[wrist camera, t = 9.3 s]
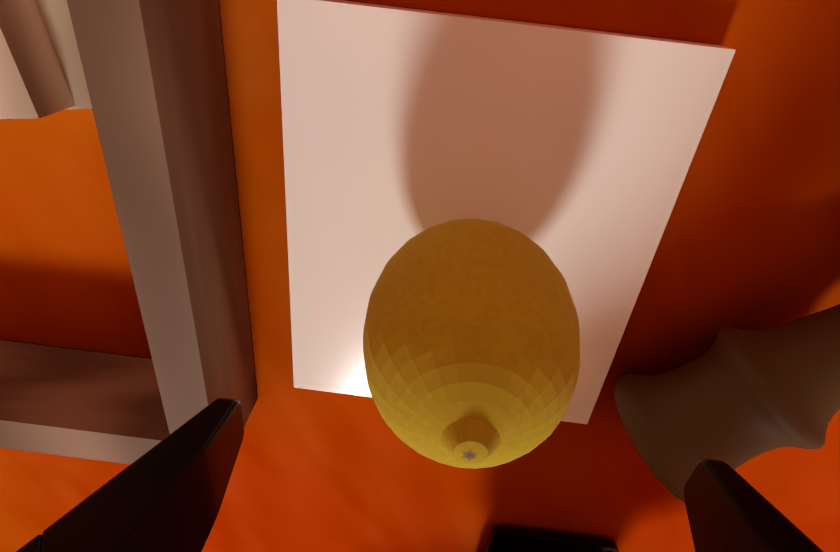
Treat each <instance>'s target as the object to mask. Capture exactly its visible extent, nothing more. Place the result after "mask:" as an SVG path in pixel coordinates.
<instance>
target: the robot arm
mask: <svg viewBox="0 0 840 552" xmlns="http://www.w3.org/2000/svg"><path fill="white" fill-rule="evenodd" d="M243 436H244V423H243V415H242V407H241V403H240V401H239V400H236V399H228V398H218V399H216V400H214V401H213V402H212V403H210V404H209V405H208V406H206V407H205V408H204V409H203V410H201V411H200V412H199V413H197V414H196V415H195V416H193V417H192V418H191V419H189V420H188V421H187V422H186V423H184V424H183V425H182V426H180V427H179V428H178V429H176V430H175V431H174V432H172V433H171V434H170V435H169V436H167V437H166V438H165V439H163V440H162V441H161V442H159V443H158V444H157V445H155V446H154V447H153V448H152V449H150V450H149V451H148V452H146V453H145V454H144V455H142V456H141V457H140V458H138V459H137V460H136V461H134V462H133V463H132V464H131V465H129V466H128V467H127V468H125V469H124V470H123V471H121V472H120V473H119V474H117V475H116V476H115V477H114V478H112V479H111V480H110V481H108V482H107V483H106V484H104V485H103V486H102V487H100V488H99V489H98V490H97V491H95V492H94V493H93V494H91V495H90V496H89V497H87V498H86V499H85V500H83V501H82V502H81V503H80V504H78V505H77V506H76V507H74V508H73V509H72V510H70V511H69V512H68V513H66V514H65V515H64V516H63V517H61V518H60V519H59V520H57V521H56V522H55V523H53V524H52V525H51V526H49V527H48V528H47V529H45V530H44V532H43V535H37V536H36V537H35V538H33V539H32V540H31V541H30V542H28V543H27V544H26V545H24V546H23V547H22V548H20V549H19V550H18V551H16V552H201V551H202V549H203V547H204V545H205V542H206V540H207V538H208V536H209V534H210V531H211V529H212V527H213V525H214V522H215V520H216V517H217V515H218V512H219V509H220V506H221V504H222V501H223V498H224V495H225V492H226V489H227V486H228V483H229V479H230V476H231V473H232V470H233V467H234V464H235V461H236V458H237V455H238V452H239V449H240V446H241V443H242V440H243ZM683 494H684V501H685V505H686V510H687V514H688V519H689V524H690V528H691V533H692V538H693V542H694V547H695V551H696V552H823V551H822V550H821V549H820V548H819V547H818V546H817V545H815V544H814V543H813V542H812V541H811V540H810V539H809V538H808V537H807V536H806V535H805V534H803V533H802V532H801V531H800V530H799V529H798V528H797V527H796V526H795V525H794V524H793V523H791V522H790V521H789V520H788V519H787V518H786V517H785V516H784V515H783V514H782V513H781V512H779V511H778V510H777V509H776V508H775V507H774V506H773V505H772V504H771V503H770V502H769V501H767V500H766V499H765V498H764V497H763V496H762V495H761V494H760V493H759V492H758V491H757V490H755V489H754V488H753V487H752V486H751V485H750V484H749V483H748V482H747V481H746V480H745V479H743V478H742V477H741V476H740V475H739V474H738V473H737V472H736V471H735V470H734V469H732V468H731V467H730V466H729V465H728V464H727V463H725V462H723V461H719V460H712V459H701V460H700V461H698V463H697V464H696V466H695V468H694V469H693V471H692V473H691V474H690V476H689V477H688V479H687V481H686V482H685V485H684V490H683ZM485 552H619V550H618V547H617V544H616V543H615V542H614V541H611V540H604V539H596V538H588V537H580V536H573V535H565V534H557V533H549V532H541V531H534V530H526V529H518V528H510V527H495V528H493V529H492V531H491V533H490V537H489V540H488V543H487V547H486V550H485Z"/></svg>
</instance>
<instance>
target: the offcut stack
mask: <svg viewBox="0 0 840 552" xmlns="http://www.w3.org/2000/svg"><path fill="white" fill-rule="evenodd" d="M64 109H92V105H91V101H90V96H89V92H88V88H87V84H86V80H85V75H84V71H83V67H82V63H81V59H80V54H79V50H78V46H77V42H76V37H75V33H74V29H73V25H72V21H71V16H70V12H69V8H68V4H67V0H0V119H30V118H41V117H44V116H47V115H50V114H53V113H56V112H59V111H61V110H64Z"/></svg>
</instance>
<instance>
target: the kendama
mask: <svg viewBox="0 0 840 552" xmlns="http://www.w3.org/2000/svg"><path fill="white" fill-rule="evenodd" d="M614 397H615V402H616V407H617V411H618V414H619V416H620V419H621V421H622V423H623V425H624V427H625V430H626V432H627V434H628V436H629V438H630V440H631V442H632V444H633V445H634V447H635V448H636V450H637V451H638V453H639V455H640V456H641V458H642V459H643V460H644V462H645V463H646V465H647V466H648V467H649V469H650V470H651V471H652V473H653V474H654V475H655V476H656V477H657V478H658V479H659V480H660V481H661V482H662V483H663V484H664V485H665V486H666V487H667V488H668V489H669V490H670V491H671V492H672V493H673V494H674V495H675V496H676V497H677V498H679V499H681V500H682V501H684V494H683V490H684V485H685V482H686V481H687V479H688V477H689V476H690V474H691V473H692V471H693V469H694V468H695V466H696V464H697V463H698V461H700V460H701V459H712V460H719V461H723V462H725V463H727V464H728V465H729V466H730V467H731V468H732V469H736V468H737V467H738V466H740V465H742V464H743V463H745V462H746V461H748V460H750V459H752V458H754V457H756V456H758V455H760V454H762V453H764V452H767V451H770V450H773V449H775V448H780V447H786V446H790V447H799V448H804V449H818V448H821V447H822V446H823V445H824V443H825V435H826V429H827V426H828V423H829V421H830V420H831V418H832V417H833V415H834V414H835V413H836V412H837V411H838V410H839V409H840V304H839V305H836V306H834V307H831V308H828V309H826V310H823V311H820V312H817V313H814V314H812V315H809V316H806V317H803V318H800V319H797V320H794V321H791V322H787V323H784V324H781V325H777V326H773V327H768V328H764V329H753V330H747V329H739V328H735V327H731V326H724V327H722V328H720V329H719V330H718V332H717V334H716V337H715V340H714V342H713V344H712V346H711V347H710V348H709V349H708V350H707V351H706V352H705V353H704V354H703V355H701V356H699V357H698V358H696V359H694V360H692V361H690V362H688V363H686V364H684V365H682V366H680V367H677V368H674V369H672V370H669V371H666V372H663V373H659V374H655V375H641V374H636V373H623V374H621V375H620V376H619V377H618V378H617V381H616V384H615V389H614ZM684 502H685V501H684Z"/></svg>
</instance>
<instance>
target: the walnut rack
mask: <svg viewBox="0 0 840 552" xmlns="http://www.w3.org/2000/svg"><path fill="white" fill-rule="evenodd" d="M67 4H68V8H69V12H70V16H71V21H72V25H73V29H74V33H75V37H76V42H77V46H78V50H79V54H80V59H81V63H82V67H83V71H84V75H85V80H86V84H87V88H88V92H89V96H90V101H91V105H92V109H93V113H94V117H95V122H96V126H97V130H98V134H99V138H100V143H101V147H102V151H103V155H104V159H105V164H106V168H107V172H108V176H109V180H110V185H111V189H112V193H113V197H114V202H115V206H116V210H117V214H118V218H119V223H120V227H121V231H122V235H123V239H124V244H125V248H126V252H127V256H128V260H129V265H130V269H131V273H132V277H133V281H134V286H135V290H136V294H137V298H138V302H139V307H140V311H141V315H142V319H143V323H144V328H145V332H146V336H147V340H148V345H149V349H150V353H151V357H152V359H148V358H140V357H132V356H124V355H116V354H108V353H100V352H92V351H84V350H76V349H69V348H61V347H53V346H45V345H37V344H29V343H21V342H13V341H5V340H0V448H7V449H15V450H23V451H30V452H38V453H46V454H54V455H62V456H69V457H77V458H85V459H93V460H101V461H109V462H116V463H124V464H132V463H133V462H134V461H136V460H137V459H138V458H140V457H141V456H142V455H144V454H145V453H146V452H148V451H149V450H150V449H152V448H153V447H154V446H155V445H157V444H158V443H159V442H161V441H162V440H163V439H165V438H166V437H167V436H169V435H170V434H171V433H172V432H174V431H175V430H176V429H178V428H179V427H180V426H182V425H183V424H184V423H186V422H187V421H188V420H189V419H191V418H192V417H193V416H195V415H196V414H197V413H199V412H200V411H201V410H203V409H204V408H205V407H206V406H208V405H209V404H210V403H212V402H213V401H214V400H216V399H218V398H228V399H236V400H239V401H240V403H241V407H242V415H243V423H244V426H245V424H246V421H247V419H248V417H249V415H250V413H251V411H252V409H253V407H254V405H255V403H256V401H257V389H256V379H255V369H254V358H253V348H252V338H251V328H250V318H249V307H248V297H247V287H246V277H245V266H244V256H243V246H242V236H241V226H240V215H239V205H238V195H237V185H236V174H235V164H234V154H233V144H232V134H231V123H230V113H229V103H228V93H227V82H226V72H225V62H224V52H223V42H222V31H221V21H220V11H219V1H218V0H67Z"/></svg>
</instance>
